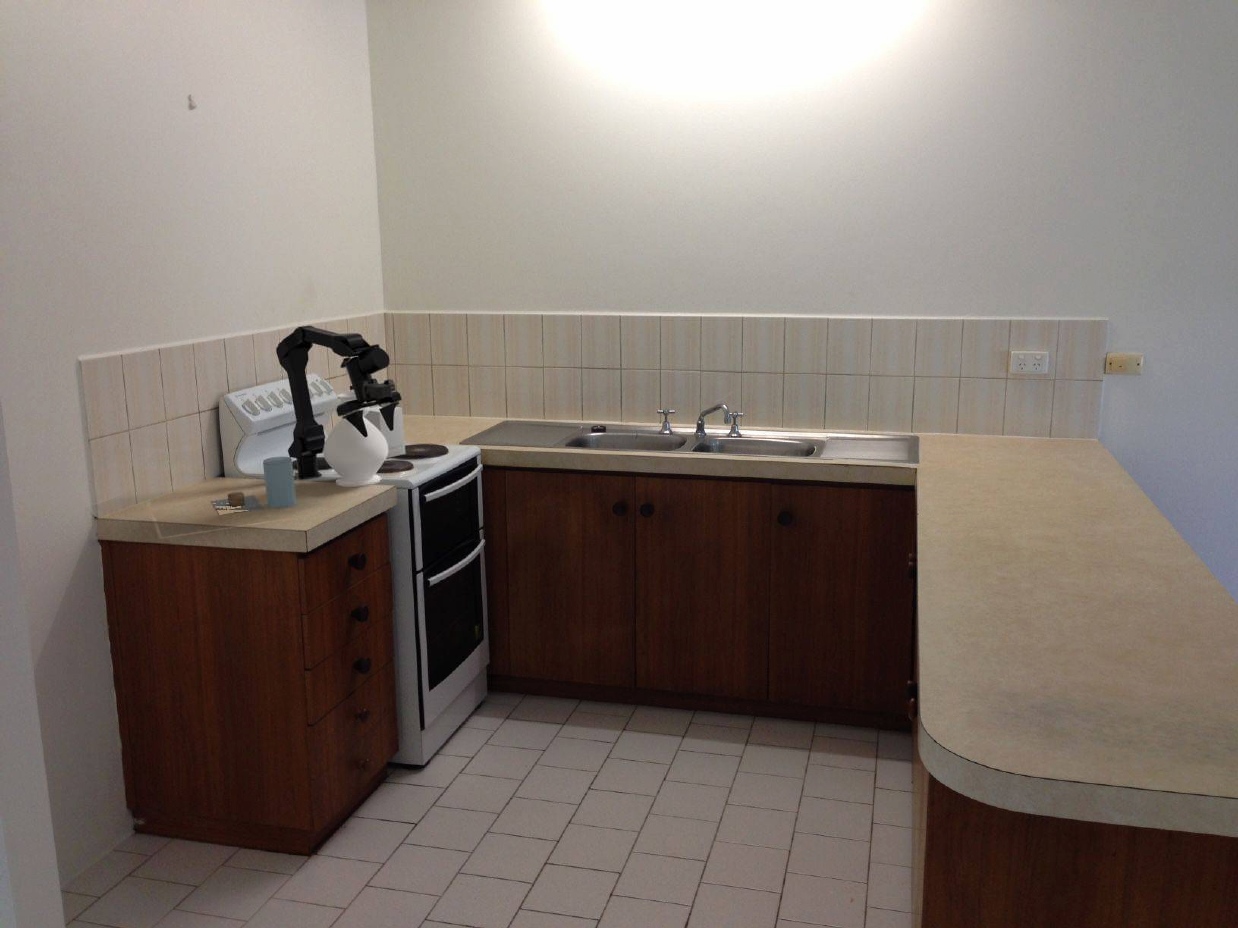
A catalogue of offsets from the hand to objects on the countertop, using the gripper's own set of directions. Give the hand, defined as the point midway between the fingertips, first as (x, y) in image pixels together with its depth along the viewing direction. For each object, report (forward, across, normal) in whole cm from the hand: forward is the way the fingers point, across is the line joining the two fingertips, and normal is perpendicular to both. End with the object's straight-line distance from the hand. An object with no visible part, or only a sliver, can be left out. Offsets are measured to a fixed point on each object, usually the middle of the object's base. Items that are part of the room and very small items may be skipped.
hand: (379, 433), depth 295 cm
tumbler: (+11, -25, +16) cm, 32 cm away
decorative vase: (+10, +3, +18) cm, 21 cm away
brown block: (+7, -32, +25) cm, 41 cm away
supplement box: (+4, +30, +36) cm, 47 cm away
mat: (+7, -32, +25) cm, 41 cm away
